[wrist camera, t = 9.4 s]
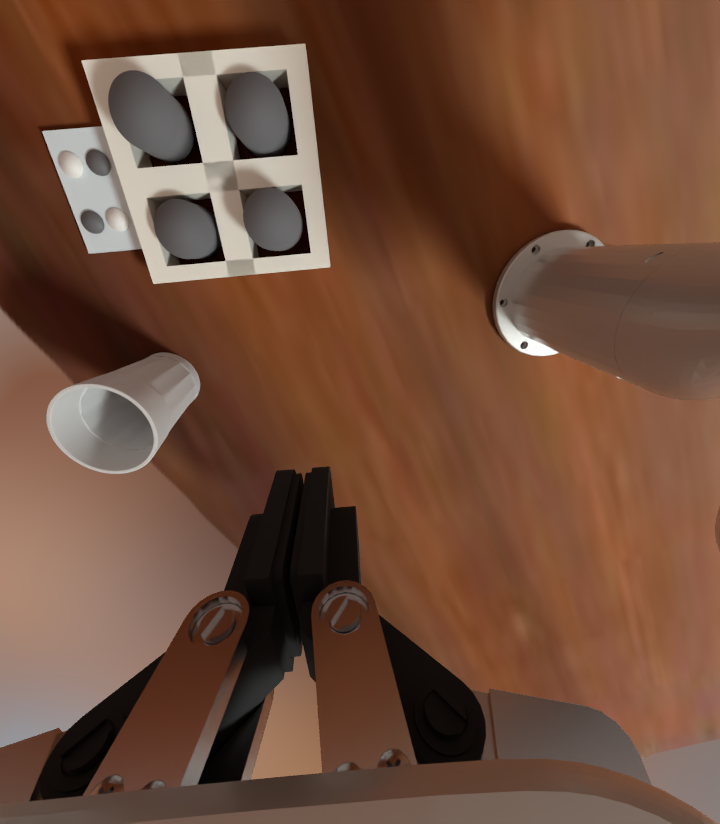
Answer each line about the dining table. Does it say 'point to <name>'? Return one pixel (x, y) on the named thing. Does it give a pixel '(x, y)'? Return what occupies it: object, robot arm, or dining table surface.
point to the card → (93, 188)
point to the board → (217, 157)
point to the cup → (122, 413)
